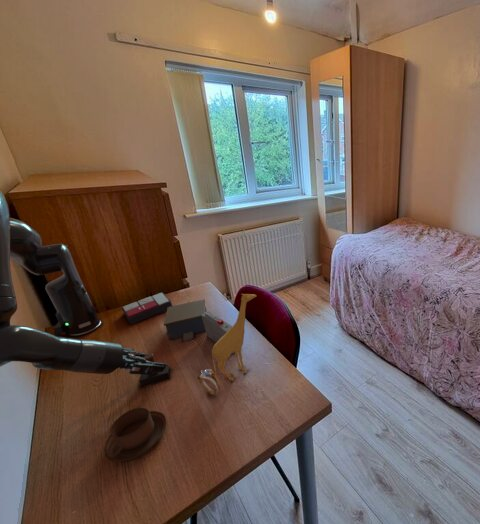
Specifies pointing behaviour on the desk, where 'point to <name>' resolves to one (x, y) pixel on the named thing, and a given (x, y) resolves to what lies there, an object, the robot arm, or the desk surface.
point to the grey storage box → (185, 318)
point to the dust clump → (188, 336)
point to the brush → (154, 374)
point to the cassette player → (215, 326)
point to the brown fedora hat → (134, 434)
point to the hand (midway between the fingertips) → (157, 363)
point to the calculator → (146, 307)
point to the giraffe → (232, 340)
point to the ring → (205, 375)
